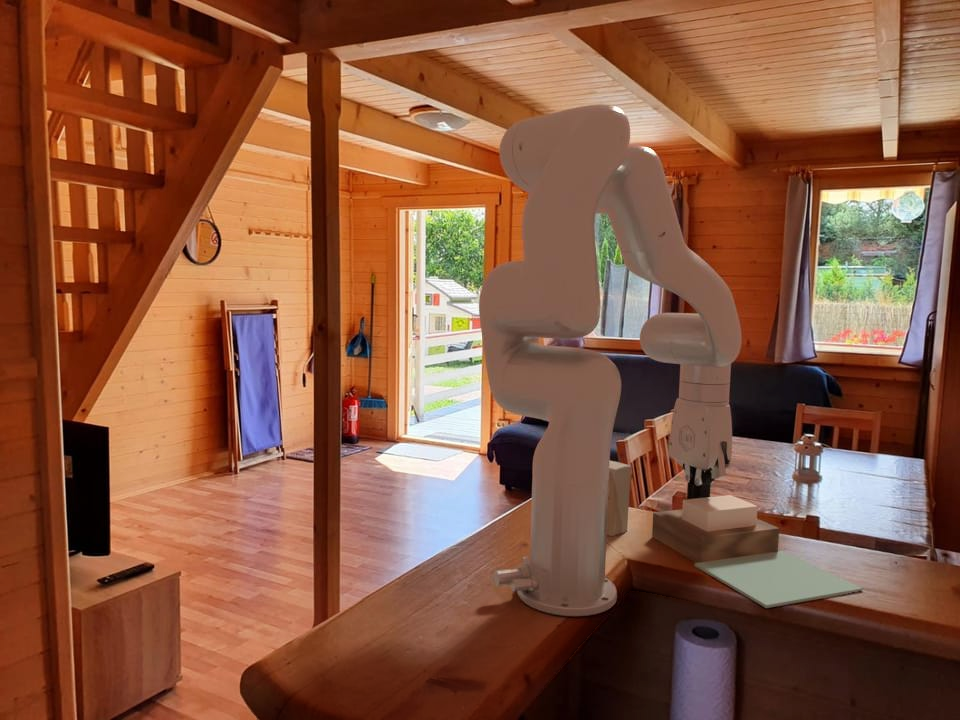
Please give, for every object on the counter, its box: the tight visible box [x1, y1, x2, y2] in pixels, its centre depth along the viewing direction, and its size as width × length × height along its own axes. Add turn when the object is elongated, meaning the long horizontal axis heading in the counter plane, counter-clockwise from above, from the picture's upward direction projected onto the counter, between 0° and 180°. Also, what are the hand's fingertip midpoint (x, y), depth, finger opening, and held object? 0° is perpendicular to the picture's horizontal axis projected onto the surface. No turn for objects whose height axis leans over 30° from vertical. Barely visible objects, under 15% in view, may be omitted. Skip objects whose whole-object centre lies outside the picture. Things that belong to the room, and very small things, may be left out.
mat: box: [694, 550, 864, 609], centre depth 97 cm, size 16×14×1 cm
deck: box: [651, 508, 780, 563], centre depth 109 cm, size 14×12×4 cm
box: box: [607, 460, 632, 537], centre depth 114 cm, size 5×4×11 cm
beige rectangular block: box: [681, 494, 758, 532], centre depth 107 cm, size 9×6×3 cm, turn 110°
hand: (697, 507), depth 112 cm, fingers closed
